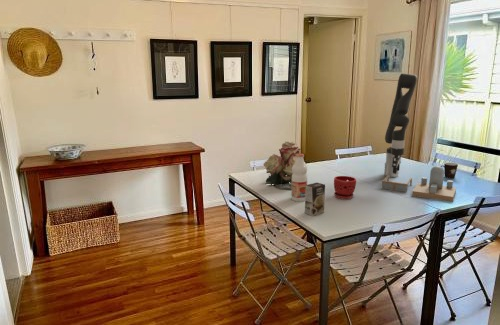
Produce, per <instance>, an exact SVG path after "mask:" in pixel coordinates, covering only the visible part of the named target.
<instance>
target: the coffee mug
mask: <svg viewBox="0 0 500 325" xmlns="http://www.w3.org/2000/svg"><path fill="white" fill-rule="evenodd" d="M443 163H444V165H439V166H440V167H442V168H443V170H444V178H445V179H449V180H450V179H455V177H456V174H457V170H458V166H459V163H456V162H450V161H449V162H448V161H447V162H443Z"/></svg>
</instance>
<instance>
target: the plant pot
mask: <svg viewBox="0 0 500 325" xmlns="http://www.w3.org/2000/svg"><path fill="white" fill-rule="evenodd" d="M356 185H357V179H356V178H355V177H353V176H347V175H339V176H338V175H337V176H334V178H333V187H334V191H335V192H334V193H333V194H334V196H335V197H336V198H338V199H342V200H350V199H352V198H354V195H355V194H354V193H355V189H356Z"/></svg>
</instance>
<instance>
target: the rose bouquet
mask: <svg viewBox="0 0 500 325" xmlns="http://www.w3.org/2000/svg"><path fill="white" fill-rule="evenodd" d="M278 151H279V154H280V156H279V155H278V154H276V153H274V154H272V155H270V156H269V158H268V159H267V160H266V161H264V163H263V166H264V167H265V170H266V172H265V173H267V174H268V177H266V180H265V185H266V184H271V185H272V184H277V185H276V186H273V185H272V186H271V187H275V188H276V189H280V190H283V189H290V190H291V186H292V174H293V172H292V166H293V165H294V164H295V161H296V154H299V153H300V152H301V151H302V150H301V148H300V147H299V146H298V144H297V142H295V141H291V142H289V141H284V142H283V143H282V144H281V148H279V149H278ZM300 154H301V153H300ZM289 182H290V184H289ZM281 184H282V185H281ZM287 184H288V185H287Z"/></svg>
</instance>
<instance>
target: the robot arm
mask: <svg viewBox="0 0 500 325" xmlns="http://www.w3.org/2000/svg"><path fill="white" fill-rule="evenodd" d="M417 81H418V76H417V75H416V74H410V73H400V75H399V77H398V79H397V85H396V91H395V92H396V93H395V96H394V97H395V98H394V101H393V105H392V109H391V113H390V117H389V122H388V126H387V129H386V132H385V135H384V140H385V143H386V144H389V145H390V144H391V146H390V147H387V149H386V154H385V155H386V158H385V163H384V173H383V175H384V176H385V177H386V176H387V175H389V178H396V177H397V178H398V177H399V174H400V172H399V171H400V167H401V166H400V165H401V163H402V156H403V155H404V154H405V144H406V143H405V138H406V137H405V135H406V130H407V128H408V125H409V123H410V118H409V116H408V112H409V109H410V103H411V99H412V98H413V95H414V92H415V88H416V86H417ZM403 89H407V90H408V91H407V92H406V93H405V94H404V93H403ZM403 94H404V95H403ZM396 127H401V129H396ZM395 129H396V130H395Z"/></svg>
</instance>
